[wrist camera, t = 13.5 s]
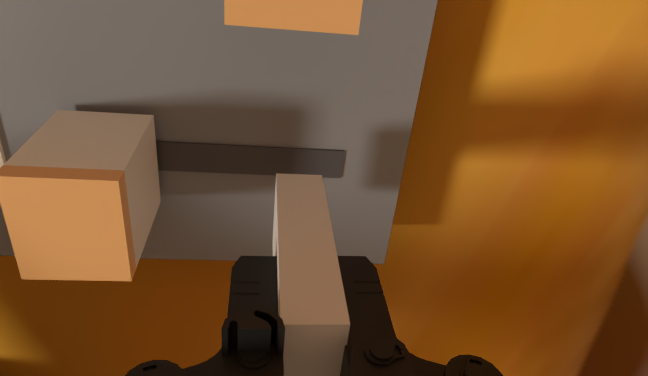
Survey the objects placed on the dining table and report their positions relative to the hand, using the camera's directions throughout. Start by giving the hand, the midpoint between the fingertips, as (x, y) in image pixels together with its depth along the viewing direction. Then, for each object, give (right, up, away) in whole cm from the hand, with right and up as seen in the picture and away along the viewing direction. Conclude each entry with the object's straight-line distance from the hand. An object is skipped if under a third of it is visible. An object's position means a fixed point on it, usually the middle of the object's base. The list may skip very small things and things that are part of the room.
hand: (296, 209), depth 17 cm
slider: (-7, +2, +2) cm, 7 cm away
